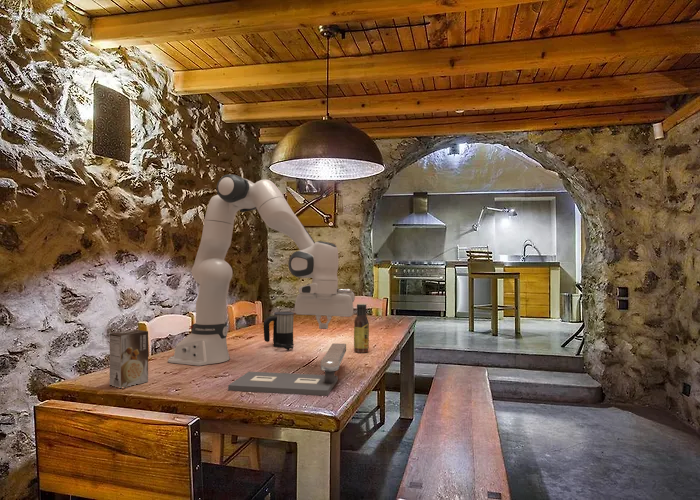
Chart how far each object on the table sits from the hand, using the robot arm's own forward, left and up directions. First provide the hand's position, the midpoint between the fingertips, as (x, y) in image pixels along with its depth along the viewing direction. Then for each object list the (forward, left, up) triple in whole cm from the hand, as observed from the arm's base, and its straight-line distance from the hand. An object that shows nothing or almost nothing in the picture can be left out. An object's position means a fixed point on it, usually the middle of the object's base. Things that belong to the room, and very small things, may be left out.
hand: (323, 328), depth 151 cm
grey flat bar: (+5, -5, -9) cm, 11 cm away
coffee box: (-56, -24, -15) cm, 63 cm away
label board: (-8, -17, -15) cm, 24 cm away
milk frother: (-26, +38, -15) cm, 49 cm away
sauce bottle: (+9, +35, -15) cm, 40 cm away
